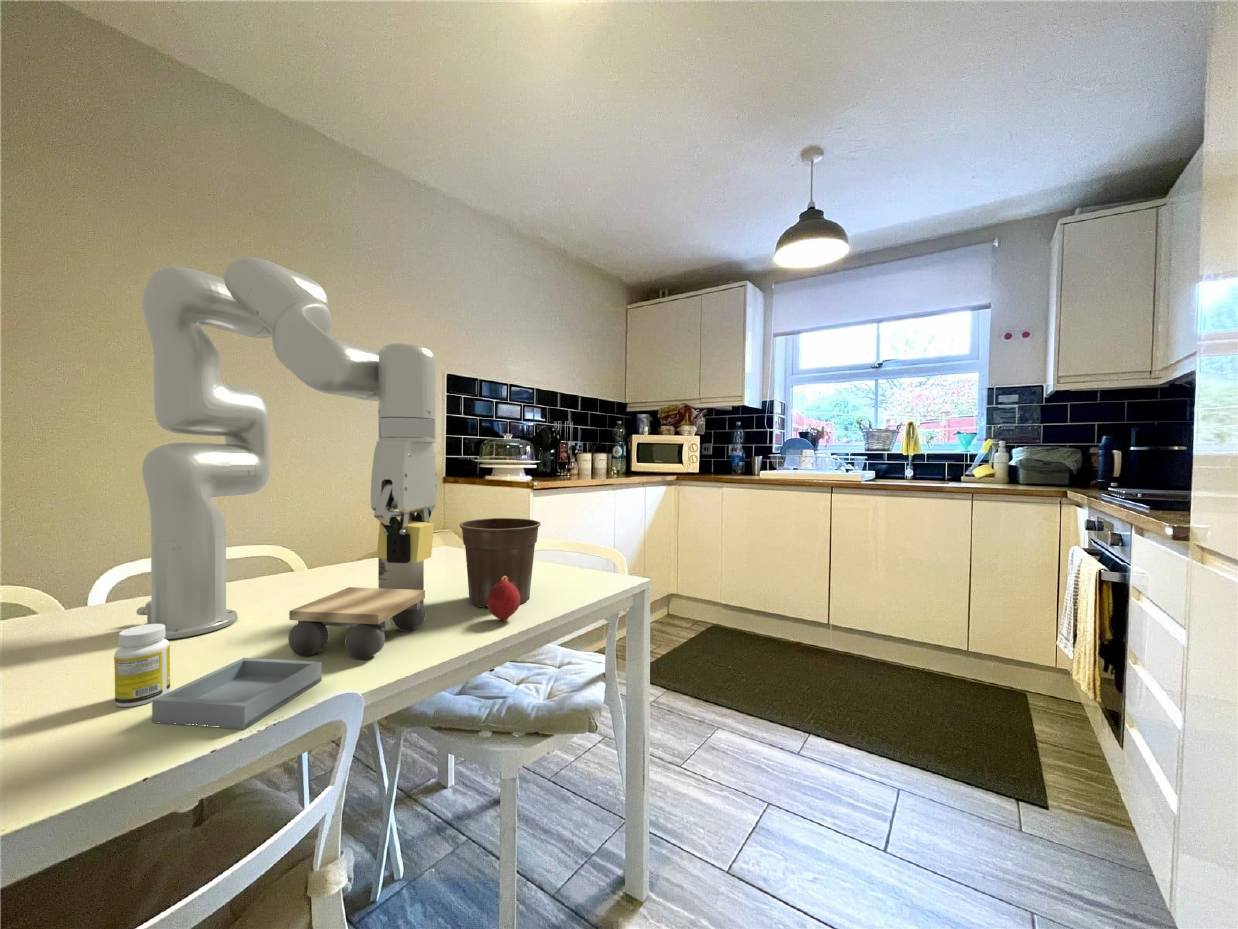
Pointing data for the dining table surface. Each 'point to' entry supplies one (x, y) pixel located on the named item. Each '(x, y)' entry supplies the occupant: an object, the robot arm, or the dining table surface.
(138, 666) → the supplement bottle
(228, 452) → the robot arm
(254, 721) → the tray
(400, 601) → the dolly
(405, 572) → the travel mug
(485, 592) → the plant pot
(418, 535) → the block
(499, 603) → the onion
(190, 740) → the dining table surface
